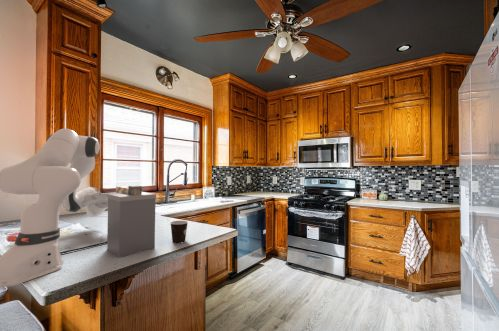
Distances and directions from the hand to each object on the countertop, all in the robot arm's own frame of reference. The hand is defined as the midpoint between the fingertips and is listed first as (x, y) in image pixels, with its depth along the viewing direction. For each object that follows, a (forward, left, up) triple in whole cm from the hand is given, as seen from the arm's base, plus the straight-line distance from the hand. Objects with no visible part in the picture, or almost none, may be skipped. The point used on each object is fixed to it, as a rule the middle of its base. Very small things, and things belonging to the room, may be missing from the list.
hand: (109, 192), depth 134 cm
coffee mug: (0, -41, -25) cm, 48 cm away
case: (-15, -25, -24) cm, 38 cm away
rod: (-12, -21, +2) cm, 24 cm away
